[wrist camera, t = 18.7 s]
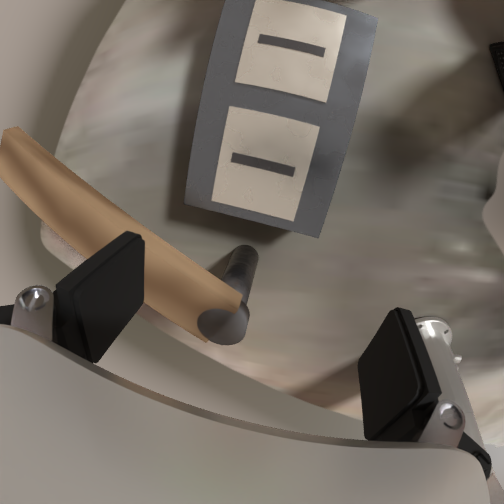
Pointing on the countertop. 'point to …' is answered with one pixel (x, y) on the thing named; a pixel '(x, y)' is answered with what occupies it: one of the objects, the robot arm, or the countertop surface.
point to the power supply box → (278, 110)
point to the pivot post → (241, 270)
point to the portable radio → (498, 58)
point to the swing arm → (110, 227)
